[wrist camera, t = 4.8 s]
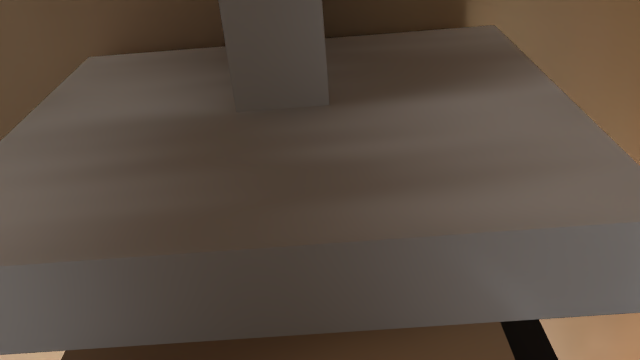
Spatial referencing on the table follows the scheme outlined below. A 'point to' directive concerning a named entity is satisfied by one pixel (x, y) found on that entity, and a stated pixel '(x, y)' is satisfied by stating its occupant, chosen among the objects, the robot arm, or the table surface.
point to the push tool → (310, 200)
